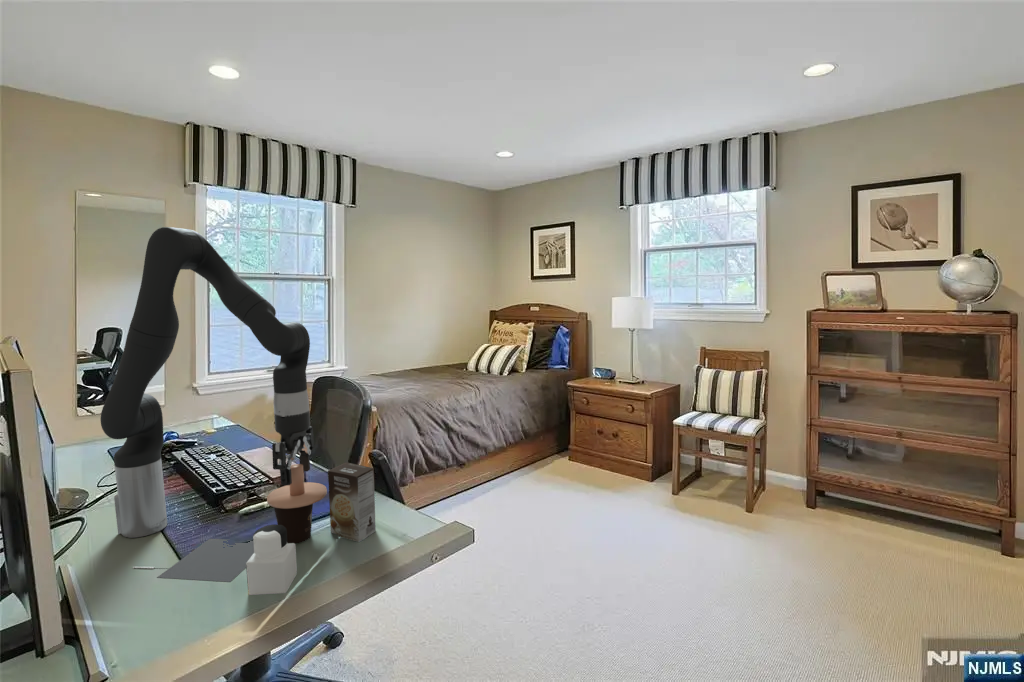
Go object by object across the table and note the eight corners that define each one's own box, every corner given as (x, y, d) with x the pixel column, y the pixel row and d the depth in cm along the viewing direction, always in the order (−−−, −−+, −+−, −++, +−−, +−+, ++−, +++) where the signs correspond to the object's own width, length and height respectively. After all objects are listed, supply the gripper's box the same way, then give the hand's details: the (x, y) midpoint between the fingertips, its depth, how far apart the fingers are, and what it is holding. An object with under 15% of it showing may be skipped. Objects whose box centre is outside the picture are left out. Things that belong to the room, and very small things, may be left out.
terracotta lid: (255, 507, 119) (253, 476, 118) (286, 484, 132) (284, 456, 131) (310, 509, 117) (308, 478, 116) (336, 486, 130) (334, 457, 129)
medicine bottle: (262, 576, 109) (258, 521, 108) (297, 574, 110) (294, 519, 108) (247, 597, 102) (243, 538, 100) (286, 595, 103) (282, 537, 101)
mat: (157, 580, 108) (157, 577, 108) (209, 541, 124) (209, 538, 124) (230, 584, 106) (230, 581, 106) (274, 544, 122) (274, 541, 122)
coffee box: (329, 535, 126) (325, 470, 124) (348, 523, 132) (344, 461, 130) (359, 543, 122) (356, 476, 120) (377, 530, 128) (374, 466, 126)
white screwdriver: (129, 570, 112) (129, 565, 112) (216, 572, 111) (216, 567, 111) (126, 572, 112) (125, 567, 111) (214, 574, 110) (213, 569, 110)
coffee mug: (301, 550, 119) (299, 508, 118) (267, 547, 121) (264, 505, 120) (329, 526, 130) (327, 487, 129) (298, 523, 132) (295, 485, 131)
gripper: (292, 402, 129) (296, 466, 131) (258, 417, 115) (263, 489, 117) (321, 402, 128) (325, 467, 130) (291, 418, 114) (295, 490, 116)
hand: (296, 477), depth 124 cm, fingers open, 8 cm apart
